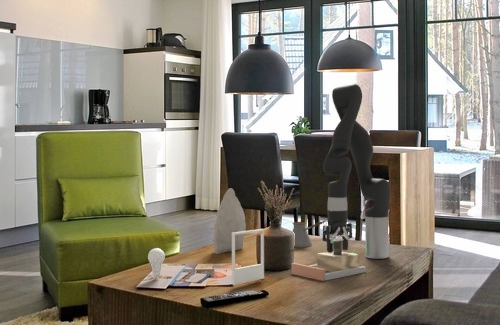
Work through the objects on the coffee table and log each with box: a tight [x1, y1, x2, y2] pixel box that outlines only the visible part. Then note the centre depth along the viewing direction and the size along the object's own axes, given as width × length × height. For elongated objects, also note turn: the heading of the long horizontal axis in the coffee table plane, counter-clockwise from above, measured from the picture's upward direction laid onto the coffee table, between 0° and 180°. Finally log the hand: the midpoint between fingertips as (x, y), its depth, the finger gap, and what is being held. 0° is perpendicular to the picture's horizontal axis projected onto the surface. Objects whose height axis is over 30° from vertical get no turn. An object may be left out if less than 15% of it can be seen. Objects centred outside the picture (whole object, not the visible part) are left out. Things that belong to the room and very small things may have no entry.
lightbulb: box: [147, 247, 166, 279], centre depth 222 cm, size 6×6×11 cm
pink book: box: [291, 262, 367, 282], centre depth 230 cm, size 24×16×4 cm
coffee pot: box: [292, 220, 328, 248], centre depth 278 cm, size 21×12×15 cm, turn 44°
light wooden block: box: [316, 239, 359, 272], centre depth 233 cm, size 10×12×11 cm
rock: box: [212, 187, 247, 255], centre depth 268 cm, size 19×9×30 cm, turn 136°
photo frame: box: [231, 228, 265, 286], centre depth 216 cm, size 15×1×18 cm, turn 133°
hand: (337, 251), depth 233 cm, fingers open, 8 cm apart
